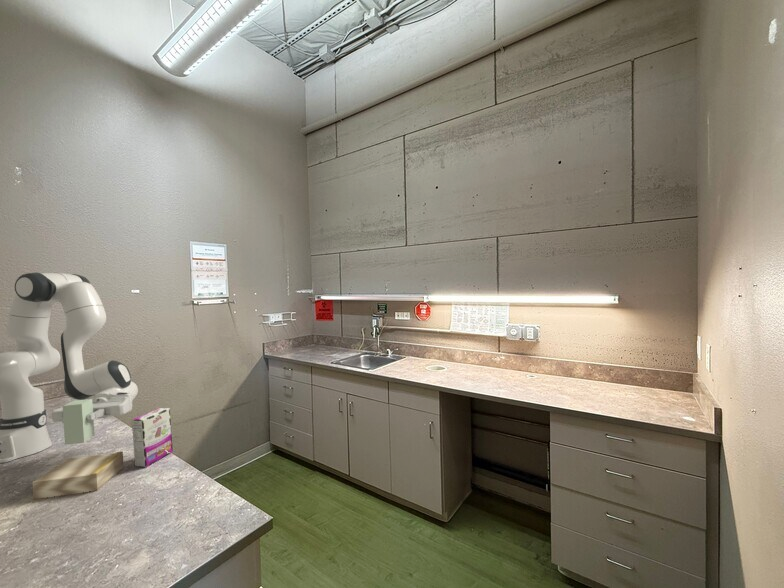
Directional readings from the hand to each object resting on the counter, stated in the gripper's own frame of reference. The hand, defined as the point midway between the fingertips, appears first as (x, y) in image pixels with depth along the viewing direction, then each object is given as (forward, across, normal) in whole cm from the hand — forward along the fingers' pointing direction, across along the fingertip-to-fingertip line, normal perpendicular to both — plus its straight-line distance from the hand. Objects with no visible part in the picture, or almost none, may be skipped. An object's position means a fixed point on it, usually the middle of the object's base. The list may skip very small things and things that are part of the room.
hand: (76, 419), depth 106 cm
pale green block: (-1, 0, +7) cm, 7 cm away
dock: (-1, 0, +20) cm, 20 cm away
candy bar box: (-11, +16, +21) cm, 28 cm away
